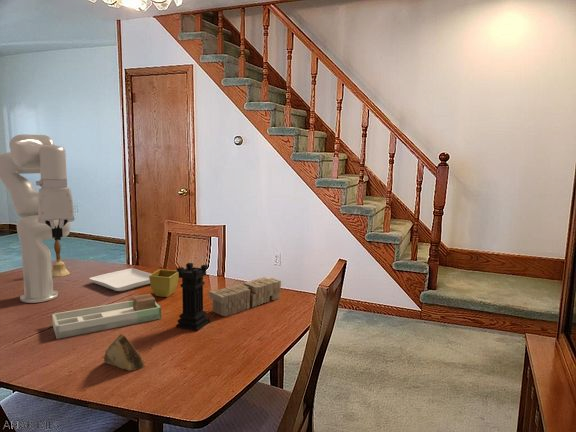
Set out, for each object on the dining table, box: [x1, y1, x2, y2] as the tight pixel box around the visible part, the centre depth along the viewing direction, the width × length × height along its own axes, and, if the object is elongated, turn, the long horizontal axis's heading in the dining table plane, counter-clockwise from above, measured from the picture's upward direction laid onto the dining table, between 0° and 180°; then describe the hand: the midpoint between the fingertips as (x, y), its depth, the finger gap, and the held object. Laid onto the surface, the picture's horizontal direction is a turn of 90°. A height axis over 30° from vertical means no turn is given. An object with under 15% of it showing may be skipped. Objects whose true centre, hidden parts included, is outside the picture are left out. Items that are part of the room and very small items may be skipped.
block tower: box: [208, 277, 282, 317], centre depth 166 cm, size 8×8×29 cm
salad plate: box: [88, 267, 152, 292], centre depth 187 cm, size 21×21×3 cm
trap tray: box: [51, 299, 162, 340], centre depth 147 cm, size 12×32×4 cm, turn 123°
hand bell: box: [52, 240, 71, 278], centre depth 196 cm, size 8×8×16 cm
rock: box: [103, 333, 146, 371], centre depth 120 cm, size 11×9×10 cm
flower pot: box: [149, 269, 179, 298], centre depth 174 cm, size 9×9×9 cm
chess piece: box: [175, 262, 211, 332], centre depth 145 cm, size 8×8×20 cm
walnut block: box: [132, 293, 156, 311], centre depth 153 cm, size 6×6×4 cm
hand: (57, 239), depth 146 cm, fingers closed
